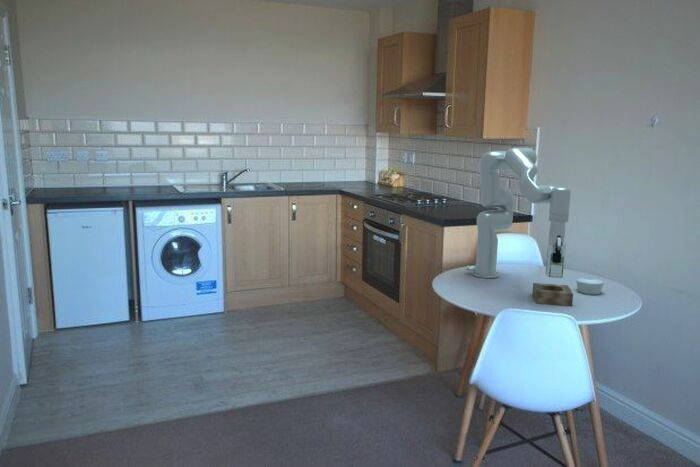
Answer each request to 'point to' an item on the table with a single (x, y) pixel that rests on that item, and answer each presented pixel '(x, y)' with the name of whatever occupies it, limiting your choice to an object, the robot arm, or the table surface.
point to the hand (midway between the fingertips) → (555, 260)
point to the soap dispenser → (555, 268)
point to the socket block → (552, 294)
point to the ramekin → (589, 286)
